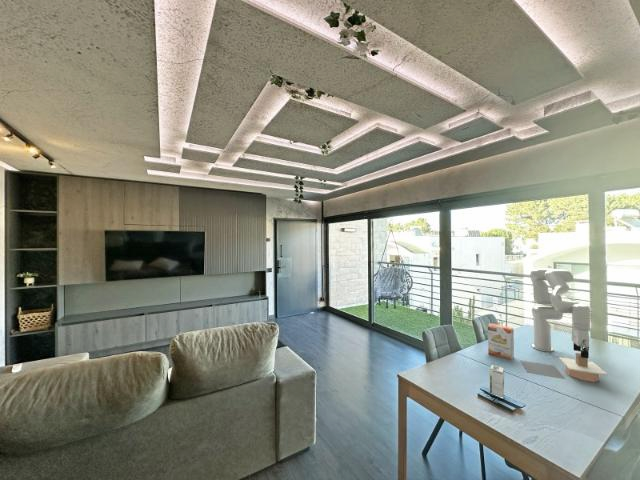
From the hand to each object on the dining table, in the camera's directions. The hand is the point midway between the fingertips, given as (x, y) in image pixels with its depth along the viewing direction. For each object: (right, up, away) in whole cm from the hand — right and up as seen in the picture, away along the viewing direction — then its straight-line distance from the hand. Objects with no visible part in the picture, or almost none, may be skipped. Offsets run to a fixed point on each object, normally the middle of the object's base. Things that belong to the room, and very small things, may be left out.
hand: (580, 354), depth 154 cm
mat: (-17, -13, +8) cm, 23 cm away
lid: (0, -7, -1) cm, 7 cm away
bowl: (0, -13, -1) cm, 13 cm away
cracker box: (-28, -14, +28) cm, 42 cm away
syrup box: (-63, -14, -18) cm, 67 cm away
